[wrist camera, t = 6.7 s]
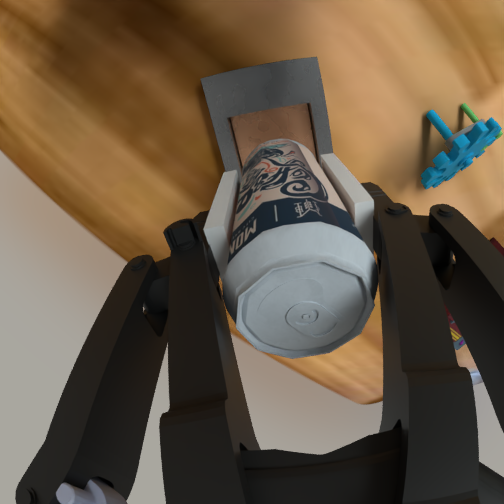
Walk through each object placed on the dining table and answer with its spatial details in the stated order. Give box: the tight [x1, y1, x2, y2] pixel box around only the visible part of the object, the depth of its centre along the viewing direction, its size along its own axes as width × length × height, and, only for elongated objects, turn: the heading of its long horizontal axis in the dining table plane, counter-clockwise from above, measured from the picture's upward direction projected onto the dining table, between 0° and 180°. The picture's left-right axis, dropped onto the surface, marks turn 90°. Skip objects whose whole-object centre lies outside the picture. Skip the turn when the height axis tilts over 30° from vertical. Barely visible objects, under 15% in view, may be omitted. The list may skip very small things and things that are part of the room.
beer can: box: [222, 139, 378, 359], centre depth 13 cm, size 5×5×12 cm
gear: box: [421, 103, 503, 189], centre depth 19 cm, size 11×6×10 cm
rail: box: [201, 57, 333, 185], centre depth 27 cm, size 30×9×2 cm, turn 12°
